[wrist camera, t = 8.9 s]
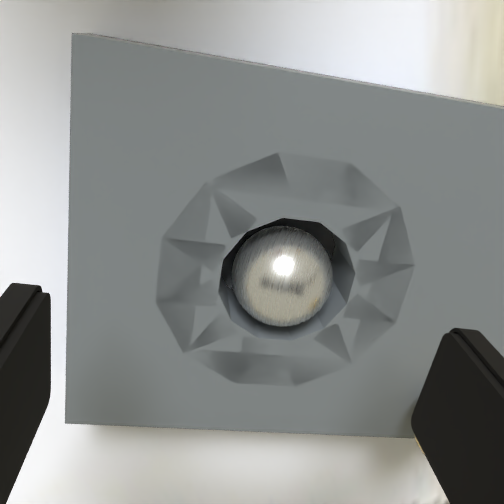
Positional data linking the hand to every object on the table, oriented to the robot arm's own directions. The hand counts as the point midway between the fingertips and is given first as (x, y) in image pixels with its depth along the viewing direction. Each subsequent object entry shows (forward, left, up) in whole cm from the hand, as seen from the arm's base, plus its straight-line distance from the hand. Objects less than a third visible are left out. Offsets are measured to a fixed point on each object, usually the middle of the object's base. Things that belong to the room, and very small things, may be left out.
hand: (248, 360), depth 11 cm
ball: (-2, 0, -6) cm, 6 cm away
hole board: (-8, 0, -7) cm, 11 cm away
